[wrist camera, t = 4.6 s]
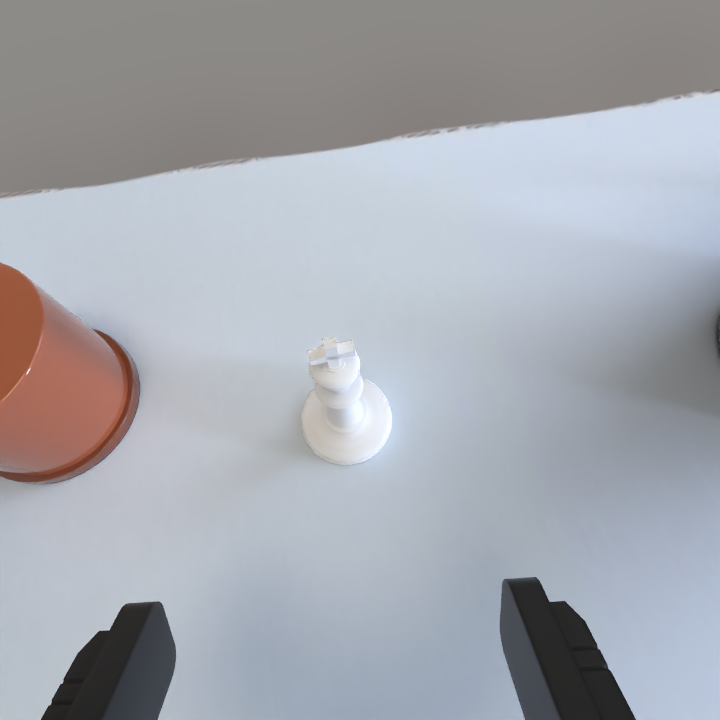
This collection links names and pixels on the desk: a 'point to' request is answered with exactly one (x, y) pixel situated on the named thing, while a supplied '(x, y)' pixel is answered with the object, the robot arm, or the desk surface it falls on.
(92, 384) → the upturned cup
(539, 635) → the robot arm
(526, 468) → the desk surface
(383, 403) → the chess piece
